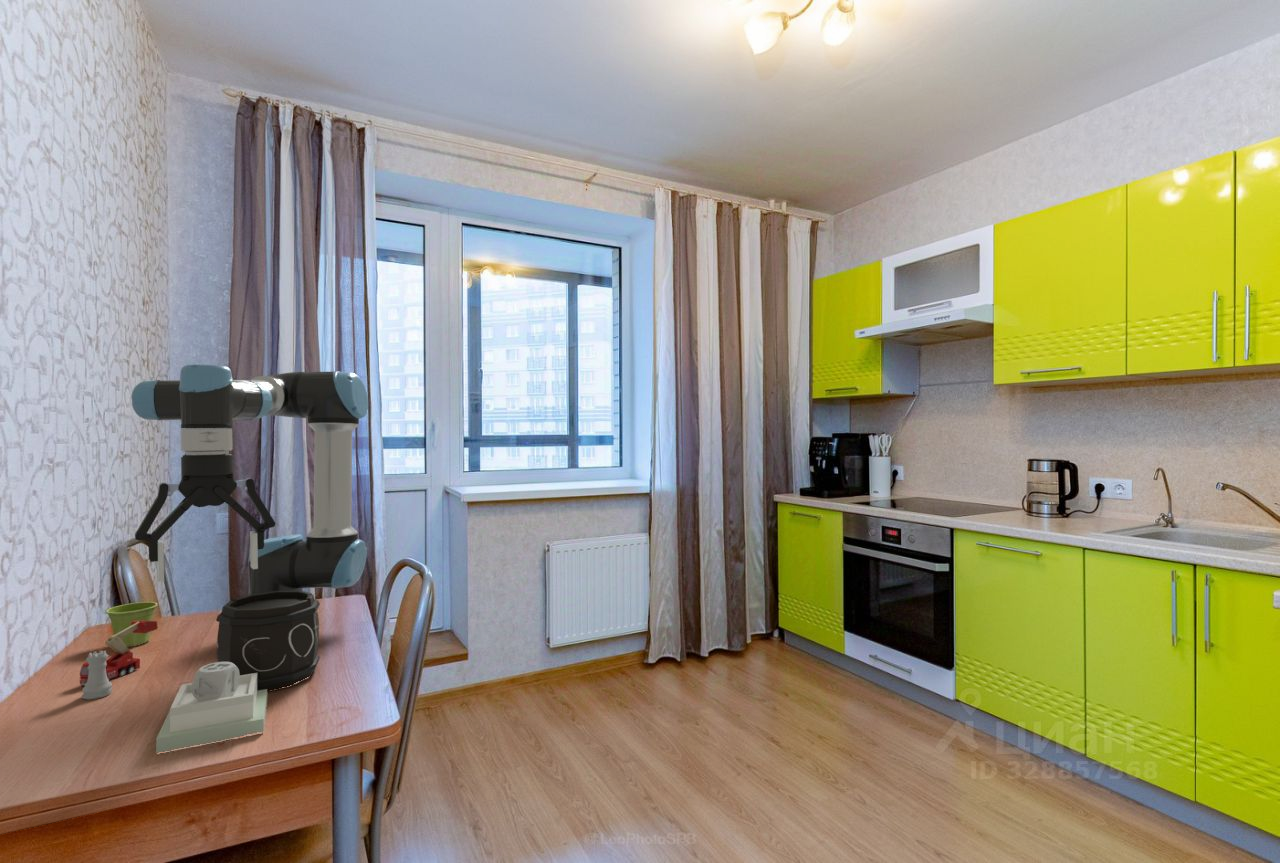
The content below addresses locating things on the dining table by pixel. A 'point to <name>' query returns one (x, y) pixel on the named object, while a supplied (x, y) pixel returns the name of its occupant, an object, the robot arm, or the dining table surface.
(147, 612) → the plant pot
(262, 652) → the black bucket
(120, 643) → the toy fire truck
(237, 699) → the tower base
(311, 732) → the dining table surface
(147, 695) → the dining table surface
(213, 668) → the die
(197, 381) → the robot arm
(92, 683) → the rook chess piece
